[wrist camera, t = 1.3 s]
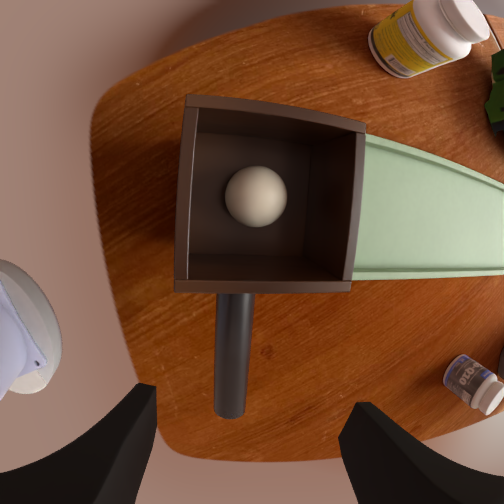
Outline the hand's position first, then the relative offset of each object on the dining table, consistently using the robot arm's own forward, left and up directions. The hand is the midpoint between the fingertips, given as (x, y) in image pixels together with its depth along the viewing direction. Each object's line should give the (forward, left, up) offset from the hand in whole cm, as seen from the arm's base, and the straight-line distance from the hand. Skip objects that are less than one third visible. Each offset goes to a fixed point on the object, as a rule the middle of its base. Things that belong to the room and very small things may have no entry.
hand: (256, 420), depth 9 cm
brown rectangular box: (+2, +3, -8) cm, 9 cm away
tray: (+25, -4, -11) cm, 27 cm away
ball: (+4, +6, -6) cm, 9 cm away
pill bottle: (+21, -23, -11) cm, 33 cm away
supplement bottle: (+21, +13, -11) cm, 27 cm away
